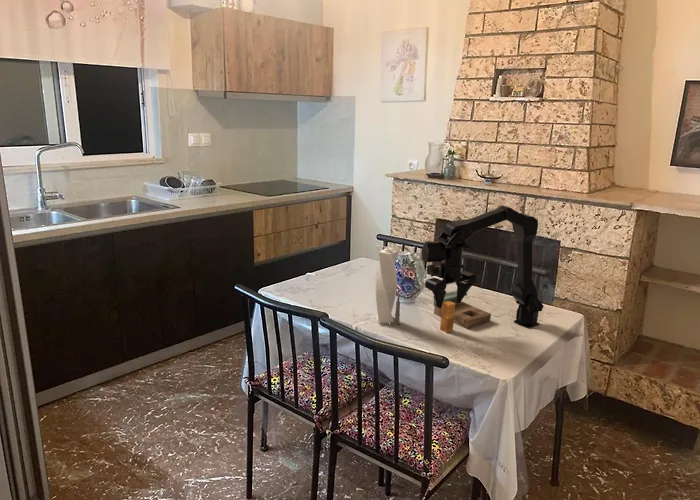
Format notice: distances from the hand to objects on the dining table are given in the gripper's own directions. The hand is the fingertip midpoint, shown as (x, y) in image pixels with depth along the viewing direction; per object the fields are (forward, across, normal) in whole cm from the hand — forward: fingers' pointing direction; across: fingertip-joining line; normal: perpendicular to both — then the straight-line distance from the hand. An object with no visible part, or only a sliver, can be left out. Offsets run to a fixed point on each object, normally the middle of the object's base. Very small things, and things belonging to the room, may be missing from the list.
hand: (448, 305), depth 175 cm
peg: (+9, 0, 0) cm, 9 cm away
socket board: (+9, -13, -5) cm, 17 cm away
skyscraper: (+10, +13, -17) cm, 23 cm away
